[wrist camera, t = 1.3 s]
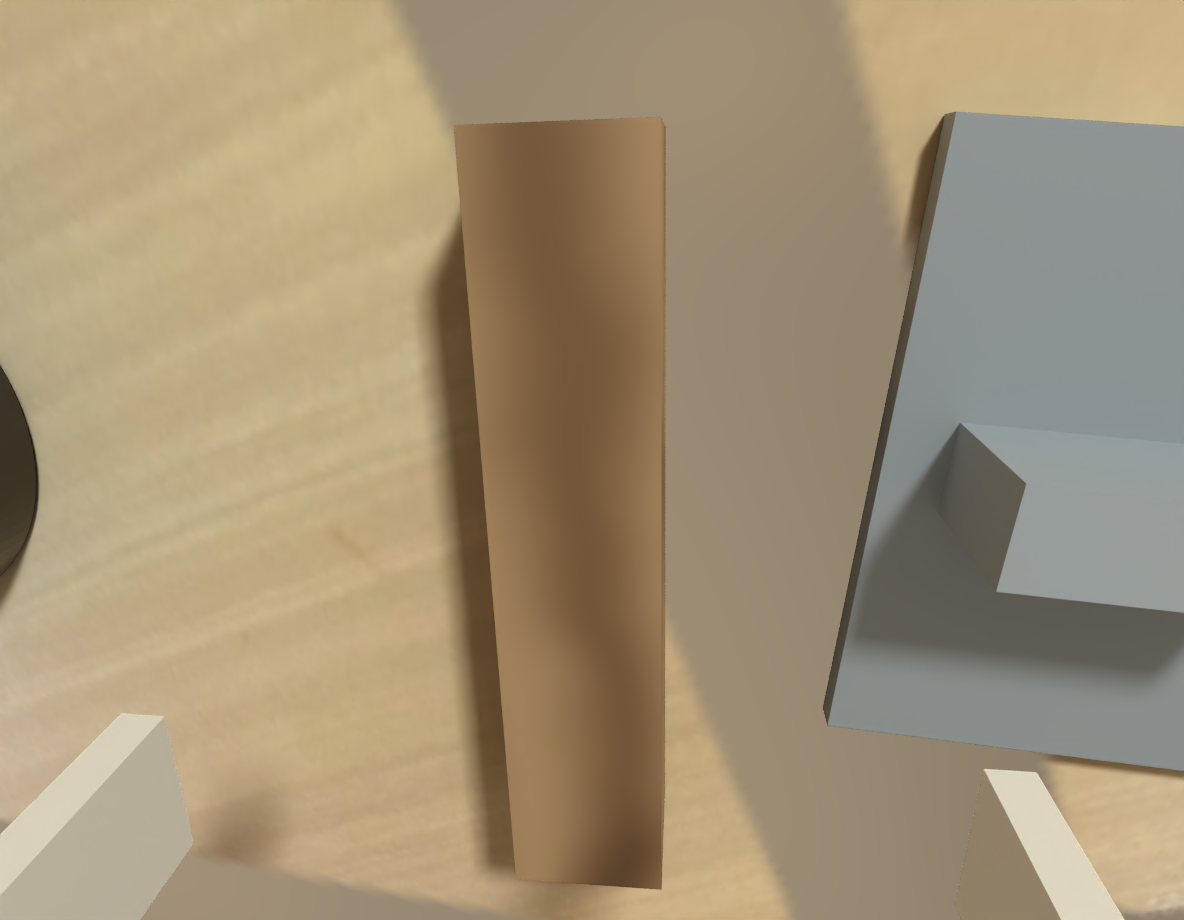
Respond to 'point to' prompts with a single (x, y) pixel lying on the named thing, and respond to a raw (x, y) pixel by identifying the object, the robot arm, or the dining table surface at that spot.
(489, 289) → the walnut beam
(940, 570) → the fulcrum
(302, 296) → the dining table surface
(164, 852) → the robot arm
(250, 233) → the dining table surface
